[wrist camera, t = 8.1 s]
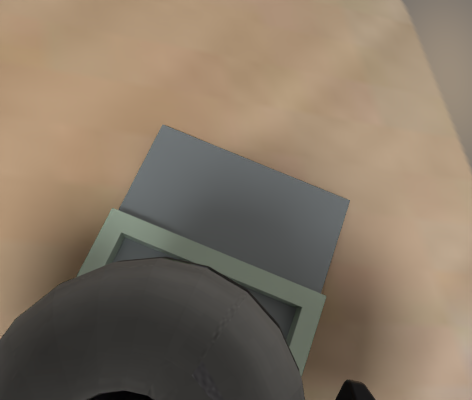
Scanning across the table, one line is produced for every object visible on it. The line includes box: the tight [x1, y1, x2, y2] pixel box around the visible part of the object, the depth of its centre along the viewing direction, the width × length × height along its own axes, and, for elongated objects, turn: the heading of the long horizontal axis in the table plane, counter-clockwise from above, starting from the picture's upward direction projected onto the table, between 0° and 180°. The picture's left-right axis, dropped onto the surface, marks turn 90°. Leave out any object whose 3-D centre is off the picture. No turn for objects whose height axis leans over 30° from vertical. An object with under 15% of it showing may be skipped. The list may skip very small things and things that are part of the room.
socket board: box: [76, 125, 350, 377], centre depth 20 cm, size 22×12×2 cm, turn 159°
